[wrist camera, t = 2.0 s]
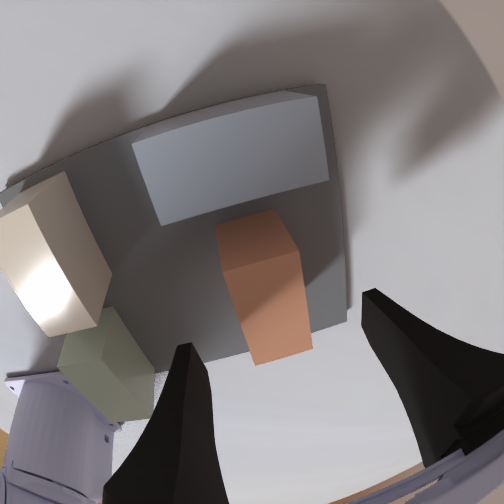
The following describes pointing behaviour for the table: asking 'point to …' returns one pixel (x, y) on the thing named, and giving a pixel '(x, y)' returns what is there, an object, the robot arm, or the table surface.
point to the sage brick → (109, 369)
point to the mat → (196, 248)
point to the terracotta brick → (265, 285)
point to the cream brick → (53, 257)
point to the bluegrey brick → (232, 154)
